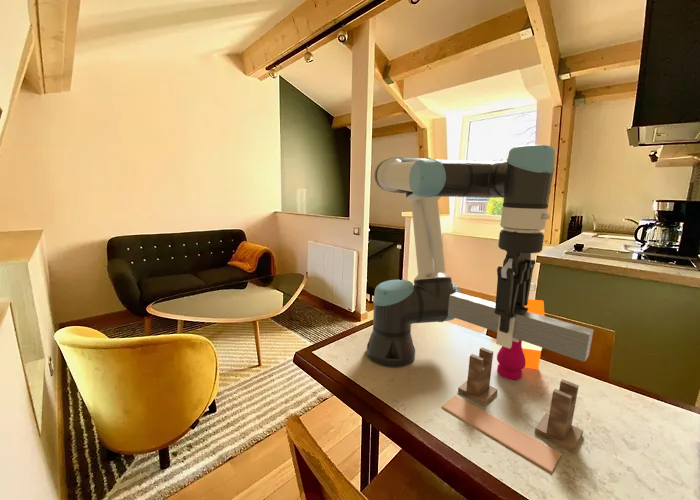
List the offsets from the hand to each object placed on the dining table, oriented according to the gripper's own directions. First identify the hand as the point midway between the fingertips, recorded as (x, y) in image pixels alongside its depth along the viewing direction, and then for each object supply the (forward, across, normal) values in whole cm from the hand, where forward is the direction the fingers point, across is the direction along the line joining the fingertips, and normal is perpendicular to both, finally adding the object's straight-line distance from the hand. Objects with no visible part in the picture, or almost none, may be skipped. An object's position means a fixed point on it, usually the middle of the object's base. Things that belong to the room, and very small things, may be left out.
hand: (507, 342), depth 64 cm
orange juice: (+21, +34, +7) cm, 40 cm away
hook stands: (+20, +9, -1) cm, 22 cm away
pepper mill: (+21, +24, +6) cm, 32 cm away
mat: (+20, 0, 0) cm, 20 cm away
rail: (-2, 0, 0) cm, 2 cm away
